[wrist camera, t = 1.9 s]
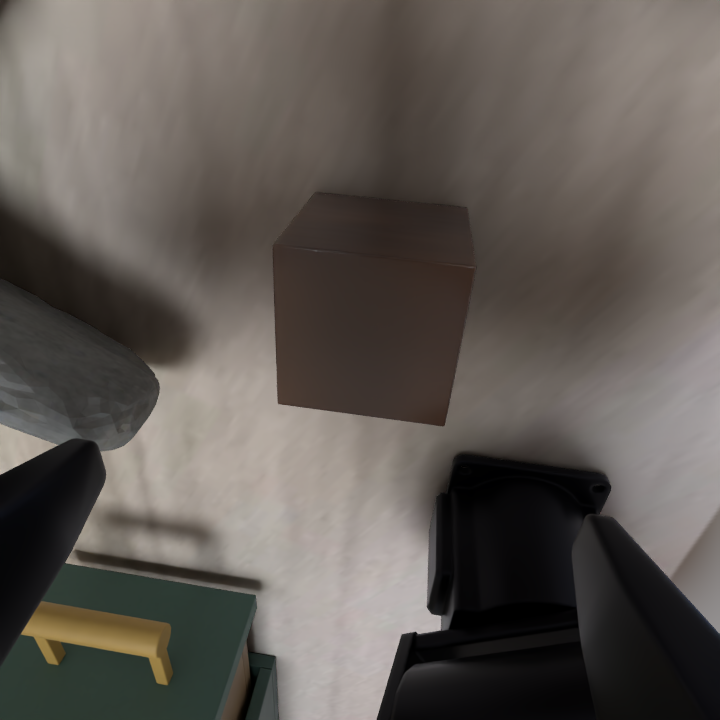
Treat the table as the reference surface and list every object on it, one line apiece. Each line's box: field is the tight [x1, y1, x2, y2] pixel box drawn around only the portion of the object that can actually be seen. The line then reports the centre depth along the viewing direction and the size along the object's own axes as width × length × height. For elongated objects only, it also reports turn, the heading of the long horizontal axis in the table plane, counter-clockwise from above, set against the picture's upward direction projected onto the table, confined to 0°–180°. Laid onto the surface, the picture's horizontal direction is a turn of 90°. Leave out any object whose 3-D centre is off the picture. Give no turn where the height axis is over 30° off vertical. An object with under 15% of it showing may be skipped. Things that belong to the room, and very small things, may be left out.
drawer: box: [0, 563, 257, 720], centre depth 28 cm, size 18×11×8 cm, turn 176°
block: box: [272, 192, 476, 426], centre depth 16 cm, size 5×5×5 cm
